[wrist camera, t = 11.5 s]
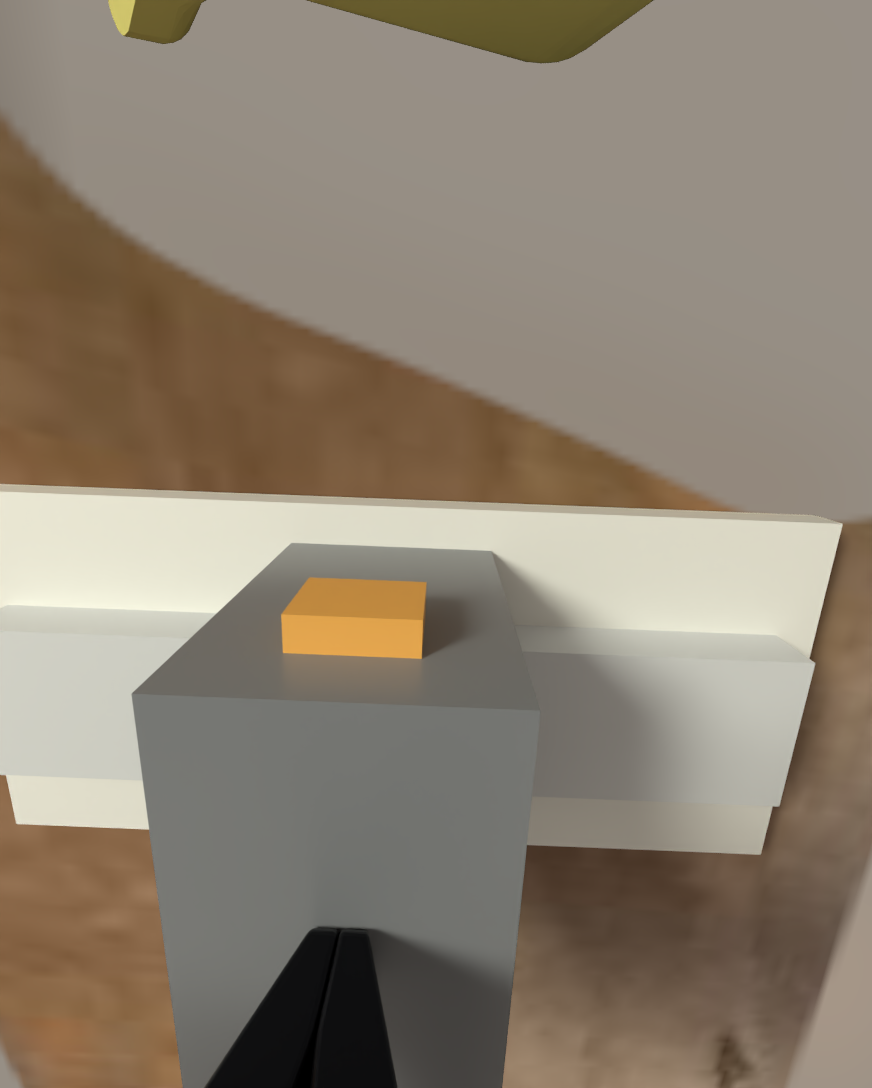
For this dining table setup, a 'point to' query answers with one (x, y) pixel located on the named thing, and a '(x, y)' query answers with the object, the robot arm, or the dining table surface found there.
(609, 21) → the plastic component
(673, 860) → the dining table surface
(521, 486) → the dining table surface
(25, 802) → the rail plate
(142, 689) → the din module
